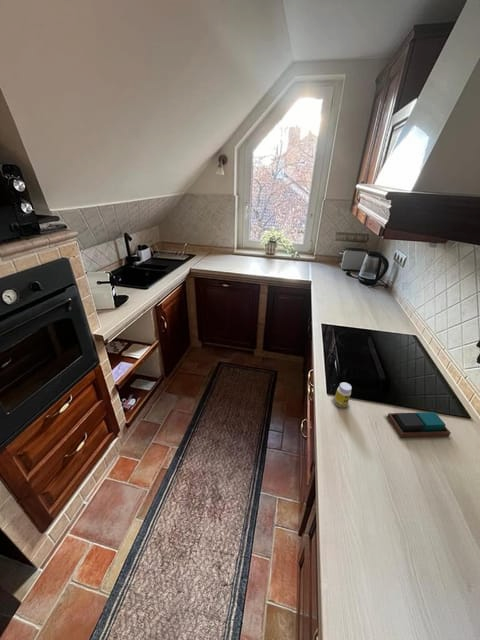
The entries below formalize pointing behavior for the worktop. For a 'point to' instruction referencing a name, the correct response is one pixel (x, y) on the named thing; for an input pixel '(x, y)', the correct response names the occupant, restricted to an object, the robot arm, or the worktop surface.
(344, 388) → the supplement bottle
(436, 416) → the teal pad
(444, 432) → the pad frame
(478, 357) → the robot arm
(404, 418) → the black block
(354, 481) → the worktop surface
